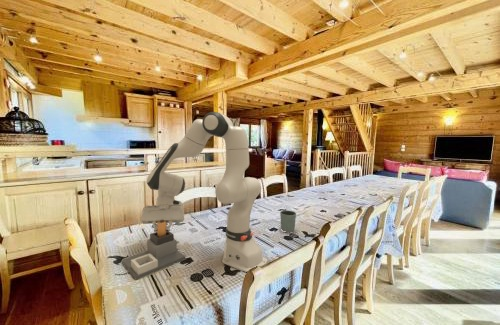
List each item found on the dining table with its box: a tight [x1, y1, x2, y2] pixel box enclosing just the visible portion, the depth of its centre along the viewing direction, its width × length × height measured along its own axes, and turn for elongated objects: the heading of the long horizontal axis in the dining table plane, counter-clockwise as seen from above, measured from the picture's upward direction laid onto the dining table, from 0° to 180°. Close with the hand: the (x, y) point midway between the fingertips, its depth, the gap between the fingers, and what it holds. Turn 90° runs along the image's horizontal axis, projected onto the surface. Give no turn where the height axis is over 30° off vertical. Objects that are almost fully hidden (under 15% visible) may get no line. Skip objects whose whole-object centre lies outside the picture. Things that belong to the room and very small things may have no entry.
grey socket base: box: [121, 230, 186, 281], centre depth 99 cm, size 17×22×10 cm
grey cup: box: [280, 209, 297, 233], centre depth 139 cm, size 10×10×12 cm
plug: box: [156, 220, 167, 238], centre depth 104 cm, size 4×4×10 cm
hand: (161, 230), depth 104 cm, fingers closed on plug, 4 cm apart
